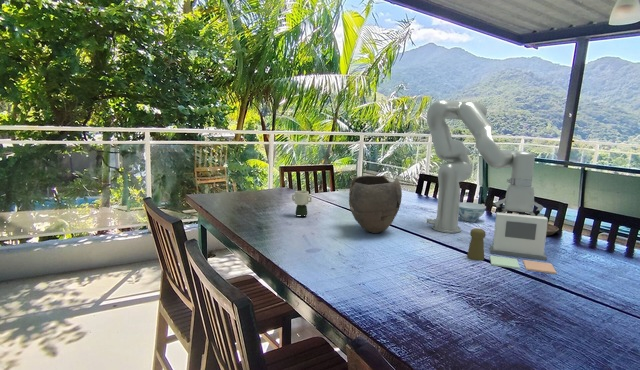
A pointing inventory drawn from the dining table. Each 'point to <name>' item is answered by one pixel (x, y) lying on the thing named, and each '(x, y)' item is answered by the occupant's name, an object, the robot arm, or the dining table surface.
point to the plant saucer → (551, 229)
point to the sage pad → (504, 262)
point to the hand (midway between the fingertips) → (516, 224)
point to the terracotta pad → (539, 266)
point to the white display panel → (520, 235)
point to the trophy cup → (301, 202)
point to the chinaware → (471, 211)
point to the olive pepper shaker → (476, 244)
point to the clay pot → (374, 202)
